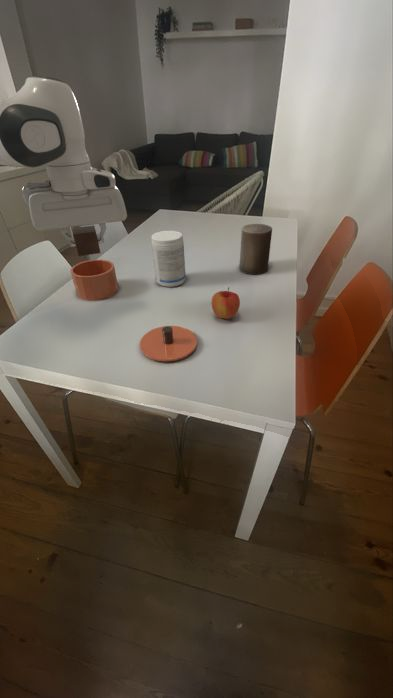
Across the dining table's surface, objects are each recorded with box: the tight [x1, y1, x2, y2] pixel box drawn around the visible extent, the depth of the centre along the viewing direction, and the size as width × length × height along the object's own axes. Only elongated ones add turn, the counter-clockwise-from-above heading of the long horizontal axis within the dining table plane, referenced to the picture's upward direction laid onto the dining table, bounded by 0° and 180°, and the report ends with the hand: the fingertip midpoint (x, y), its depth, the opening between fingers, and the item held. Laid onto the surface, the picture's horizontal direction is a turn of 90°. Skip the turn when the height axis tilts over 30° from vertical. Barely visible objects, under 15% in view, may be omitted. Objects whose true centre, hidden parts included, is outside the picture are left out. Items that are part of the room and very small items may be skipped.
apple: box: [210, 286, 241, 320], centre depth 82 cm, size 7×7×8 cm
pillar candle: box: [239, 223, 273, 275], centre depth 104 cm, size 10×10×15 cm
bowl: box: [70, 259, 119, 301], centre depth 96 cm, size 12×12×8 cm
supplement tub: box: [150, 230, 186, 288], centre depth 98 cm, size 10×10×15 cm
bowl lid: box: [139, 325, 198, 362], centre depth 74 cm, size 13×13×5 cm
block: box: [72, 224, 101, 257], centre depth 74 cm, size 5×5×5 cm
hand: (87, 244), depth 75 cm, fingers closed on block, 5 cm apart
